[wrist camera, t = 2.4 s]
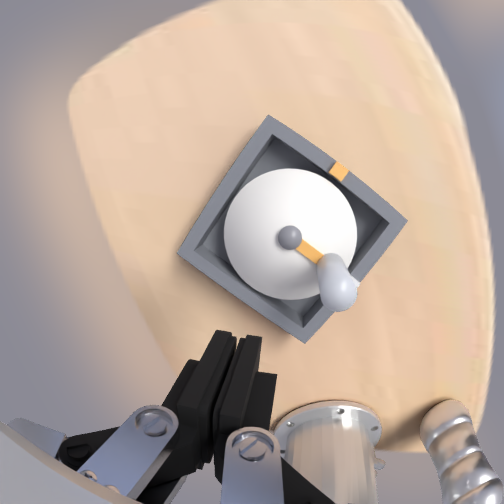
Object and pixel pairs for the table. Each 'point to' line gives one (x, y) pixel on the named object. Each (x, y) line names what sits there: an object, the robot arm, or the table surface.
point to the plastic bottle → (459, 456)
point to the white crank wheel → (293, 238)
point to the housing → (288, 157)
